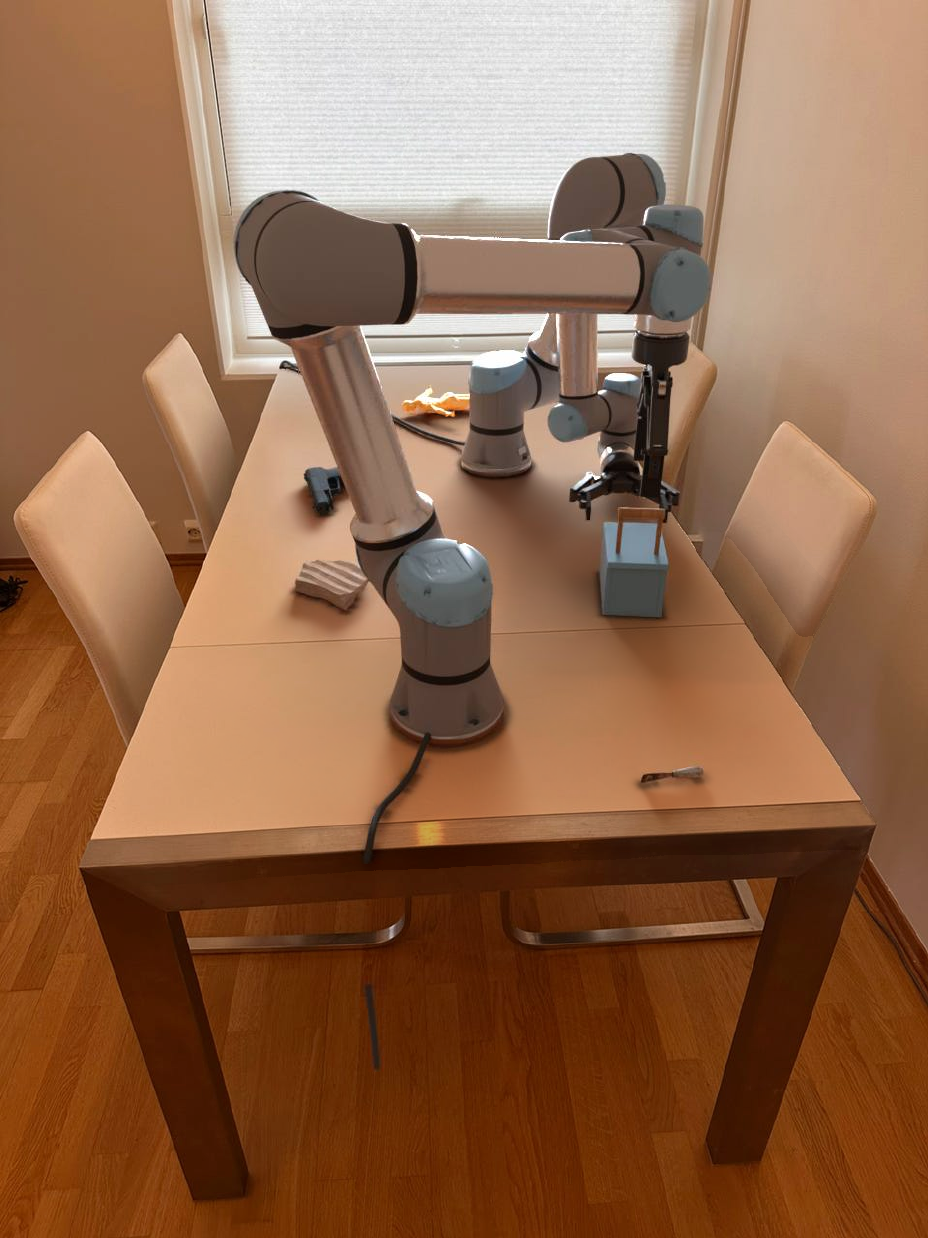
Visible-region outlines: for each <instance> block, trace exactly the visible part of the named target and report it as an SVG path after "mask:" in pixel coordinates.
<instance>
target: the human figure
mask: <svg viewBox="0 0 928 1238" xmlns="http://www.w3.org/2000/svg"><path fill="white" fill-rule="evenodd" d="M424 391H425V392H423V393H422V394H420V395H418V396H416V398H415V399H414V400H404V401H403V402H402V411H404V412H405V413H410V414H412V413H414V412H417V408H418V409H420V410H421V411H423V412H424V413H427V414H439V415H443V416H444V417H449V416H450V417H451V418H452V417H453V418H454V417H455V416H456V414H455V411H462V410H464V409H467V408H469V393H468V394H460V393H457V394H455V393H453V392H446V393H444V394H443V395H442V396H441V397H440V398H434V397H429V396H430V395H432V394H433V392H434V391H433V389H432V385H429V387H428V389H424ZM450 410H452V411H450Z"/></svg>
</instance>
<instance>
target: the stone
mask: <svg viewBox="0 0 928 1238" xmlns="http://www.w3.org/2000/svg"><path fill="white" fill-rule="evenodd" d="M369 582H370V581H369V580H368V579H367V578H366V576H365V575H364V573H363V572H362V570H361V568H360V566H359V563H358V562H357V561H353V560H349V559H341V560H340V559H339V560H328V559H316V560H314V561H313V560H311V561H309V560H306V561H304V562H303V563H302V566H301V568H300V572H299V575H298V577H297V578H296V579H295V581H294V585H295V586H294V591H295V592H299V593H301V594H305V595H307V596H310V597H312V598H320V599H324V600H325V601H328V602H329V603H331V604H332V605H334V606H335V607H338V608H339V609H341V610H344V611H347V610H348V608H349V607H351V606H352V605H353V604H354V601H355V598H356V596H357V595H358V594H359V593H360V592H361V590H362V589H364V588H365V587H366V586H367V585H368V583H369Z"/></svg>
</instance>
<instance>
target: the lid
mask: <svg viewBox="0 0 928 1238" xmlns="http://www.w3.org/2000/svg"><path fill="white" fill-rule="evenodd" d="M664 518H665V509H659V508H649V507H618V508H617V519H618V520H617V521H604V522H603V528H604V537H605V548H606V559H607V568H625V569H651V570H667V571H669V566H670V564H669V559H668V555H667V549H666V546H665V539H664V536H663V524H664V523H663V520H664ZM625 519H636V520H657V522H656V523H650V522H649V523H648V522H624V520H625Z"/></svg>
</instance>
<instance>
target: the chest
mask: <svg viewBox="0 0 928 1238" xmlns="http://www.w3.org/2000/svg"><path fill="white" fill-rule="evenodd" d="M601 540H602V541H601V550H600V551H601V552H600V563H599V586H600V587H599V588H600V599H601V613H602V615H603V616H622V617H625V616H626V617H645V618H646V617H647V618H648V617H649V618H662V614H663V607H664V598H665V591H666V584H667V575H668V570H651V569H625V568H607V559H606V548H605V537H604V527H603V529H602V539H601Z"/></svg>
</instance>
